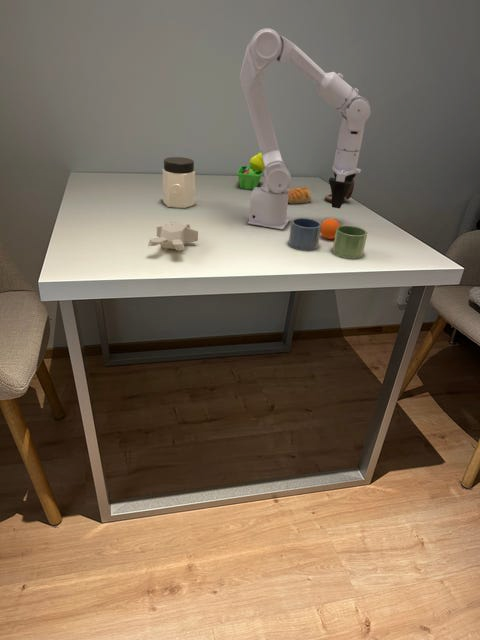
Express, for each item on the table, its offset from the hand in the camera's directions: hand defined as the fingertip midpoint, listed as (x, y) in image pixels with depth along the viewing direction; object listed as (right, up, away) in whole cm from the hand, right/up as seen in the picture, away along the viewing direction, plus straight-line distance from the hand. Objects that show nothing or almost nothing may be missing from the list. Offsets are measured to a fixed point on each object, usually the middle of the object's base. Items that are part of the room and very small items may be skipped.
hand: (337, 203), depth 121 cm
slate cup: (-10, -12, -9) cm, 19 cm away
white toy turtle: (-40, -14, -16) cm, 46 cm away
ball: (-3, -8, -5) cm, 10 cm away
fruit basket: (-22, +14, +33) cm, 42 cm away
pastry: (-8, +6, +22) cm, 24 cm away
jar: (-43, +3, +11) cm, 44 cm away
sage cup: (0, -15, -12) cm, 19 cm away
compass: (+5, +6, +24) cm, 26 cm away
